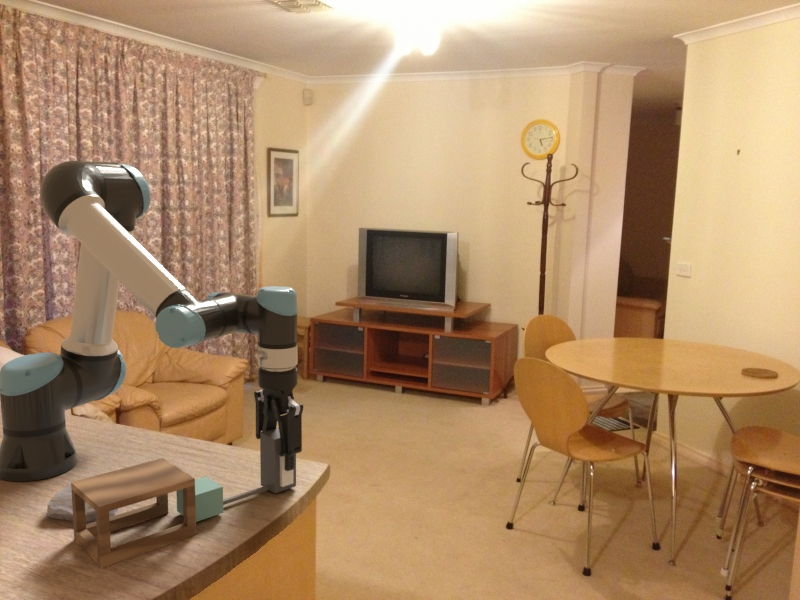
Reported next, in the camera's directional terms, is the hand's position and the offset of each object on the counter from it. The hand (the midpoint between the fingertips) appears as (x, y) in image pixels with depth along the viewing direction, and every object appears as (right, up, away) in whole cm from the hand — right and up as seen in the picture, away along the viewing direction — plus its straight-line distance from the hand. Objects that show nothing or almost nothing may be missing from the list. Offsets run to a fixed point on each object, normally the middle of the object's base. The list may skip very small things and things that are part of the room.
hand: (278, 479), depth 137 cm
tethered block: (-6, -2, -6) cm, 9 cm away
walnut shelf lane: (-21, -5, -20) cm, 29 cm away
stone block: (-34, -3, -11) cm, 35 cm away
